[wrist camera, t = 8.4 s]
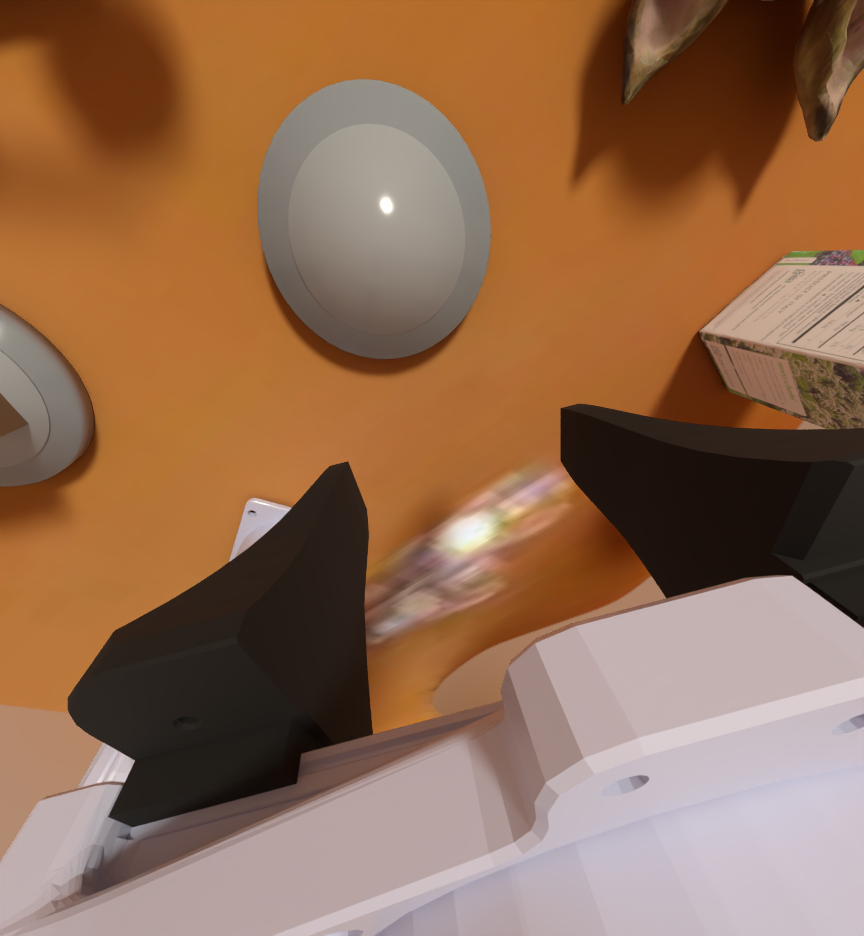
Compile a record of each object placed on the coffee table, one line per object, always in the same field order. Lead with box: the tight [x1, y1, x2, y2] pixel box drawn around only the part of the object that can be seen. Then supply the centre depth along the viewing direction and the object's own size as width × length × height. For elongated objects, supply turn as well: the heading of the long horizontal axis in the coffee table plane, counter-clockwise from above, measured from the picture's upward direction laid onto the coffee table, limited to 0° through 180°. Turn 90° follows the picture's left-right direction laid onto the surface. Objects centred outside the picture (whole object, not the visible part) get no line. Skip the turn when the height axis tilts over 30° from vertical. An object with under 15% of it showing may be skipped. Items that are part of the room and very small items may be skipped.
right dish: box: [257, 79, 491, 359], centre depth 15 cm, size 10×10×1 cm
